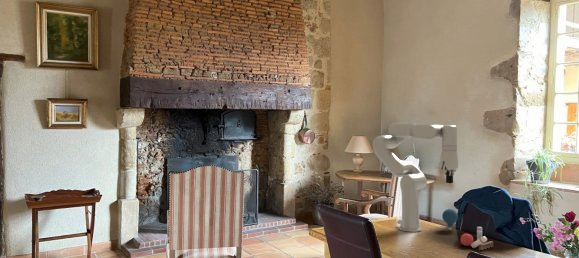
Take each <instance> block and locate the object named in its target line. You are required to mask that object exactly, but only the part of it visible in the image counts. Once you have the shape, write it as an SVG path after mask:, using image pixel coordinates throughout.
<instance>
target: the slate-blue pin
mask: <svg viewBox="0 0 579 258" xmlns="http://www.w3.org/2000/svg"><path fill="white" fill-rule="evenodd" d="M482 237H483V227H482V226H476V241H477V240H478V239H480V238H482ZM480 245H481V244H480Z"/></svg>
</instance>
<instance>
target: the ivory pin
mask: <svg viewBox="0 0 579 258" xmlns="http://www.w3.org/2000/svg"><path fill="white" fill-rule="evenodd" d="M487 242H488V238H487V237H486V236H485V235H484V236H483V235H482V238H480V239H478V240H477V239H476V240H475V241H473V243H472V244H471V245H470V247H472V248H473V249H475V248H477V247H479V245H480V244H484V243H487Z"/></svg>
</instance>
